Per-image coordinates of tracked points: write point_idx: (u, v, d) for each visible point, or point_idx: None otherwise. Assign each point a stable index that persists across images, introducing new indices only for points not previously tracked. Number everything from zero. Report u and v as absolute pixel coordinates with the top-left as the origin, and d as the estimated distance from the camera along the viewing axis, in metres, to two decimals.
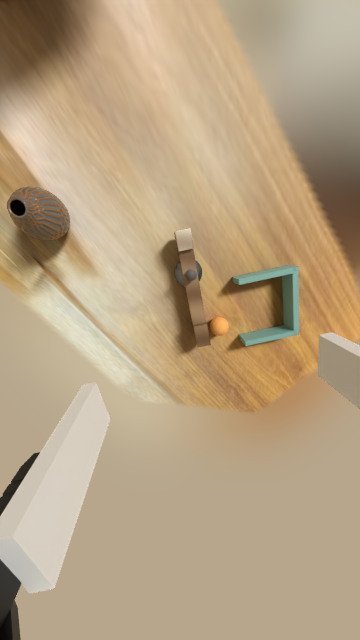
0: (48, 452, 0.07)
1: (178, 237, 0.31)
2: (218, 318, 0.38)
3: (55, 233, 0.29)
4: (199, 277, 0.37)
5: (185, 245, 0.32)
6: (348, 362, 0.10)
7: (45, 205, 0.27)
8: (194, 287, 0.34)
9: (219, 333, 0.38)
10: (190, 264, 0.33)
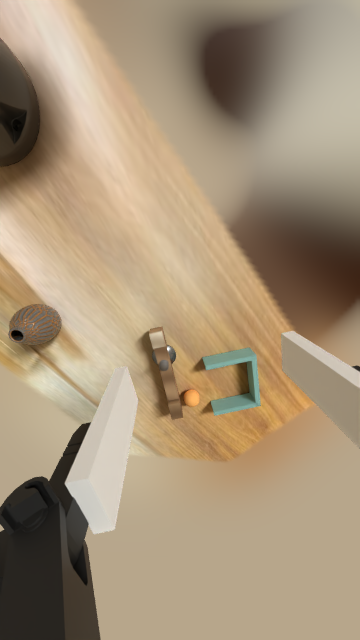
0: (99, 420, 0.08)
1: (152, 338, 0.37)
2: (190, 392, 0.44)
3: (48, 340, 0.35)
4: (173, 359, 0.43)
5: (158, 344, 0.38)
6: (301, 358, 0.11)
7: (39, 326, 0.33)
8: (167, 372, 0.41)
9: (191, 406, 0.44)
10: (163, 356, 0.39)
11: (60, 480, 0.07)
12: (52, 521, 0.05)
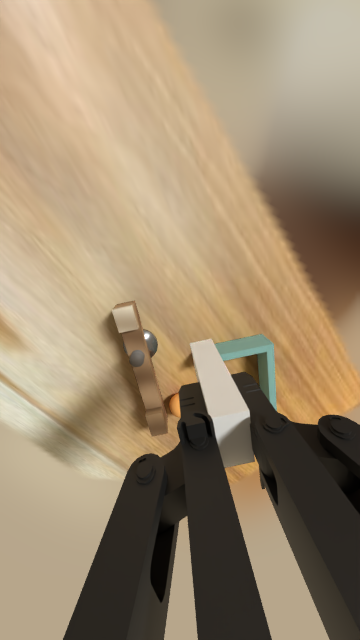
0: (206, 378, 0.10)
1: (116, 317, 0.24)
2: (178, 397, 0.31)
3: None
4: (154, 350, 0.30)
5: (126, 326, 0.25)
6: None
7: None
8: (144, 369, 0.28)
9: (179, 416, 0.31)
10: (137, 345, 0.26)
11: None
12: (213, 450, 0.06)
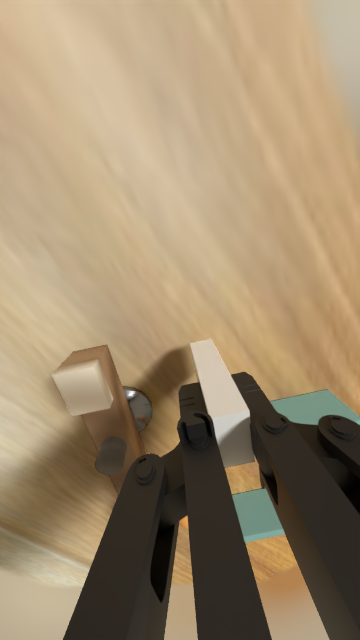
0: (206, 378, 0.10)
1: (64, 388, 0.12)
2: None
3: None
4: (147, 419, 0.18)
5: (86, 403, 0.12)
6: None
7: None
8: (126, 467, 0.15)
9: None
10: (111, 429, 0.14)
11: None
12: (213, 450, 0.06)
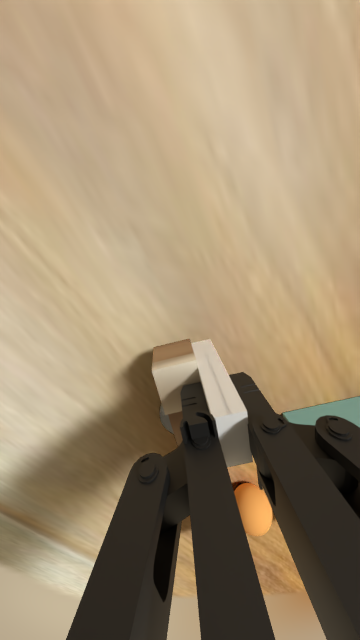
0: (208, 378, 0.10)
1: (162, 384, 0.11)
2: (252, 500, 0.18)
3: None
4: None
5: None
6: None
7: None
8: None
9: None
10: None
11: None
12: (216, 450, 0.06)
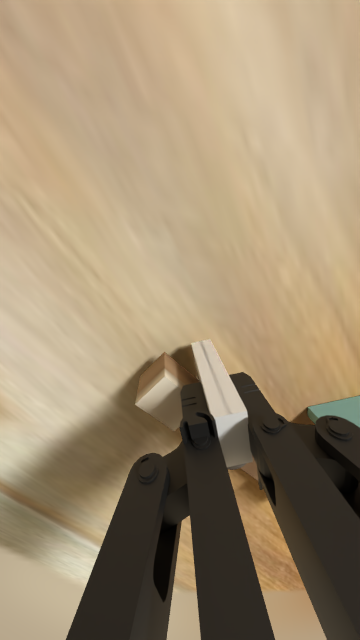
0: (208, 378, 0.10)
1: (152, 409, 0.11)
2: None
3: None
4: None
5: (180, 413, 0.12)
6: None
7: None
8: None
9: None
10: None
11: None
12: (216, 450, 0.06)
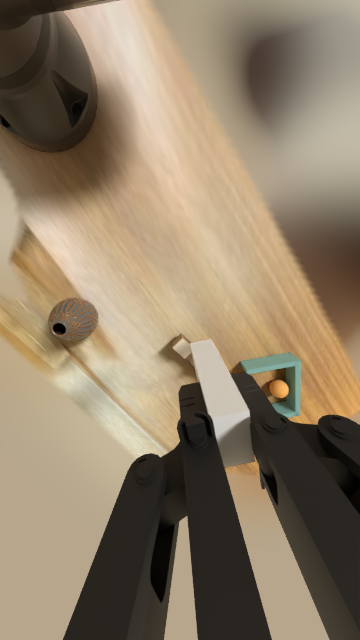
0: (206, 378, 0.10)
1: (177, 350, 0.35)
2: (279, 382, 0.41)
3: (86, 336, 0.33)
4: None
5: (186, 352, 0.35)
6: None
7: (81, 320, 0.30)
8: None
9: (280, 396, 0.41)
10: None
11: None
12: (213, 450, 0.06)
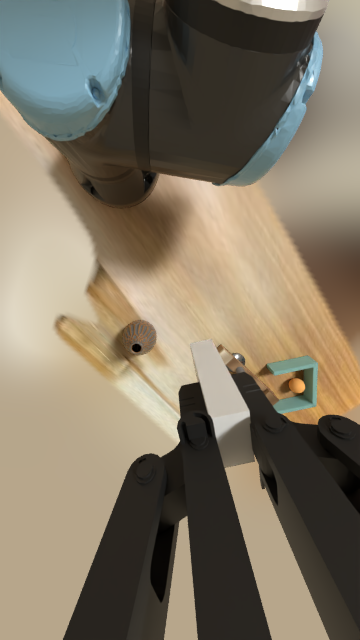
0: (206, 378, 0.10)
1: None
2: (297, 380, 0.50)
3: None
4: None
5: (227, 359, 0.44)
6: None
7: (149, 340, 0.39)
8: None
9: (296, 391, 0.50)
10: (236, 365, 0.46)
11: None
12: (213, 450, 0.06)
